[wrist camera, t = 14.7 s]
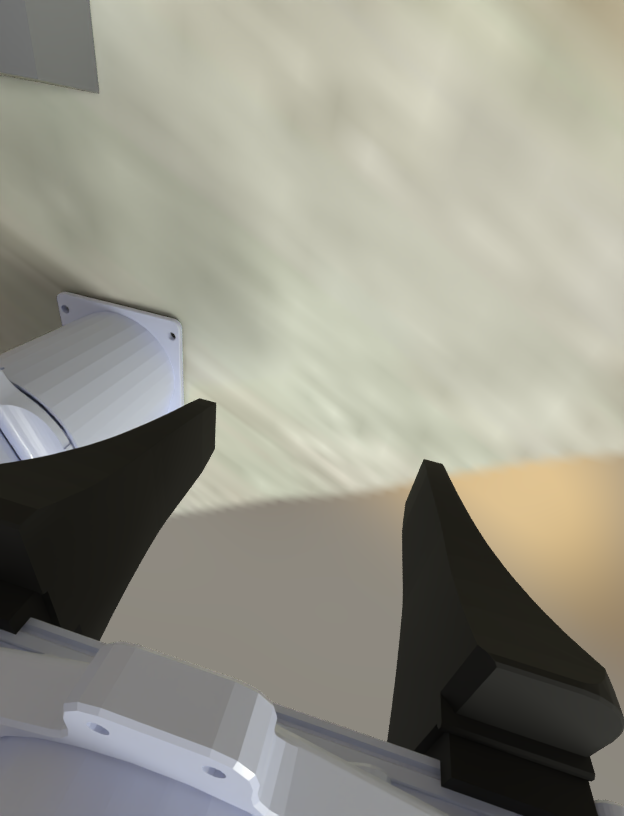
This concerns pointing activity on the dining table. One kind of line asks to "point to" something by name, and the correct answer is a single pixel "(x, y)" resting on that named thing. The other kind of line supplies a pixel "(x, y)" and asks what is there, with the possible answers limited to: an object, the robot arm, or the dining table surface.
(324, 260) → the dining table surface
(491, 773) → the robot arm
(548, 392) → the dining table surface
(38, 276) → the dining table surface
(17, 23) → the frame
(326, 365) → the dining table surface
